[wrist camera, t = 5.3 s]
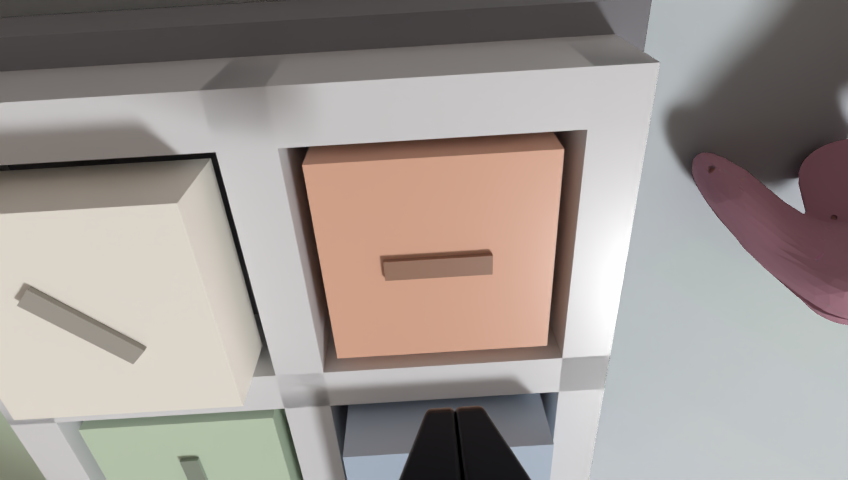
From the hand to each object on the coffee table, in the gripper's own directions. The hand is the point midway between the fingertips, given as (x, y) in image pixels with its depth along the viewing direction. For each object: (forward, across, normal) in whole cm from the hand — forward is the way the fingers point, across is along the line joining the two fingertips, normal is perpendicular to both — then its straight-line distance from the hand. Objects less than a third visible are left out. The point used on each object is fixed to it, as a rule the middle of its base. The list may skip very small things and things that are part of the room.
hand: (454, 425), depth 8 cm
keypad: (+10, +6, +4) cm, 12 cm away
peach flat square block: (+7, 0, 0) cm, 7 cm away
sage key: (+6, +7, +7) cm, 12 cm away
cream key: (+5, +7, 0) cm, 9 cm away
